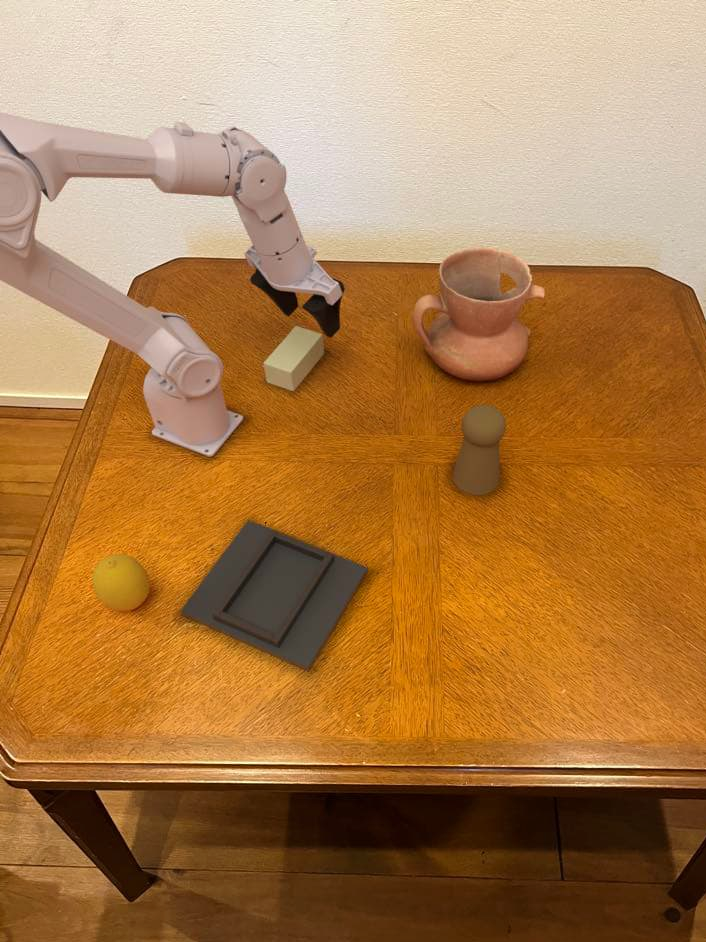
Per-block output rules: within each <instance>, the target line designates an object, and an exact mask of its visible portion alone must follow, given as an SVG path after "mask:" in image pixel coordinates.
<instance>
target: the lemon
mask: <svg viewBox="0 0 706 942" xmlns="http://www.w3.org/2000/svg"><path fill="white" fill-rule="evenodd" d="M92 572H93V573H92V587H93V590H94V593H95V595H96V598H97V599H98V600H99V601H100V602H101V603H102V604H103V606H105V607H107V608H108V609H109V610H113V611H116V612H123V613H124V612H130V611H132V610H135V609H137V608H139V607H140V606H141V605H142V604H143V603H144V602H145V601H146V600H147V598H148V595H149V593H150V586H151V585H150V578H149V574H148V573H147V571H146V569H145V568H144V567H143V565H142V564H141V563H140V561H138V560H136V559H135V558H134V557H133V556H130V555H128V554H123V553H115V554H109V555H107V556H106V557H104V558H102V559H101V560H99V562H98V563H97V564H96V566H95V568H94V569H93V571H92Z"/></svg>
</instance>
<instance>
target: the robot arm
mask: <svg viewBox="0 0 706 942" xmlns="http://www.w3.org/2000/svg"><path fill="white" fill-rule="evenodd" d="M72 178H91V179H92V178H95V179H147V180H149V179H150V180H151V181H152V183H154V184H153V185H155V187H156V188H157V189H158V190H159V191H161V193H164V194H175V195H188V196H189V195H190V196H206V197H219V198H223V197H224V198H225V197H231V199H232V201H233V204H234V205H235V207H236V209H237V212H238V215H239V218H240V221H241V223H242V225H243V226H244V229H245V231H246V233H247V235H248V237H249V240H250V241H251V244H252V245H251V246H250V247H249V248H248V249H247V250H246V251H245V252H244V253H243V255H244V258H245V259H246V262H247V264H248V266H250V267H252V268H255V272H254V273H253V274H252V275H251V277H250V279H249V281H250V283H251V285H253V286H255V287H257V288H258V289H259V290H260V291H262V292H263V293H264V294H265V295H267V296H268V298H269V299H270V300H272V302H273V303H274V304H275V306H277V308H278V309H279V310H280V311H281V312H282V313H283V314H284V315H285V316H286V317H290V316H291V315H292V314H293V313H294V312H295V311H296V310H297V309H298V308H299V301H298V296H297V294H307V295H311V296H310V297H309V299H307V300H306V302H305V303H304V304H302V306H301V308H302V309H303V310H304V311H306V312H307V313H309V314H310V315H311V316H312V317H313V319H314V320H315V321H316V322H317V324H318V325H319V328H320V330H321V331H322V333H323V334H324V335H325V336H326V337H327V338H330V339H332V338H333V336H335V334H337V332H338V331H339V330H340V329H341V319H340V317H341V316H340V312H341V303H342V298H343V296H344V292H345V290H346V288H345V285H344V283H343V282H342V281H341V280H339V279H337V278H335V277H333V278H332V277H331V276H330V275H329V274H328V273H327V272H326V271H325V270H324V268H323V267H322V266H321V265H320V263H319V262H317V260H316V259H315V257H316V256H317V254H318V252H317V249H316V247H314V246H311V245H309V244H306V241H305V239H304V236H303V233H302V231H301V228H300V226H299V223H298V220H297V217H296V215H295V213H294V210H293V208H292V205H291V202H290V200H289V197H288V195H287V194H286V191H285V187H286V184H287V183H286V182H287V168H286V165H285V164H282V163H281V161H280V159H279V158H278V156H277V154H274V152H273V151H272V150H270V149H269V148H268V147H266V146H265V145H264V144H263V143H262V142H261V141H259V140H258V139H257V138H256V137H254V135H252V134H250V133H249V132H247V131H245V130H243V129H240V128H237V127H236V126H229V127H226V128H224V129H221V131H220V132H218V133H212V132H203V131H195V130H194V129H193V128H192V127H191V126H190V125H189V124H188V123H186V122H180V121H174V123H173V127H165V126H164V127H163V126H160V127H157V128H156V129H155V130H154V131H152V133H150V135H149V136H148V137H147V138H139V137H134V136H129V135H123V134H116V133H110V132H105V131H99V130H93V129H87V128H82V127H75V126H69V125H64V124H56V123H53V122H47V121H41V120H36V119H32V118H27V117H23V116H18V115H14V114H9V113H5V112H0V281H1V282H2V283H5V284H7V285H8V286H10V287H12V288H14V289H16V290H18V291H19V292H21V293H23V294H25V295H27V296H29V297H31V298H33V299H34V300H35V301H38V302H40V303H42V304H44V305H45V306H47V307H49V308H51V309H53V310H55V311H56V312H58V313H60V314H62V315H64V316H66V317H67V318H69V319H71V320H73V321H75V322H77V323H78V324H81V326H84V327H86V328H88V329H90V330H91V331H93V332H95V333H97V334H98V335H101V336H102V337H105V338H106V339H108V340H110V341H111V342H113V343H115V344H117V345H119V346H121V347H122V348H125V349H126V350H128V351H130V352H132V353H134V354H135V355H137V356H138V357H139V358H141V359H142V360H143V361H144V362H145V363H146V364H147V365H148V366H149V367H151V368H150V369H149V370H148V372H147V373H146V375H145V377H144V381H143V388H142V392H143V393H142V394H143V397H144V400H145V403H146V406H147V408H148V411H149V415H150V417H151V419H152V423H153V425H154V428H152V431H151V434H152V436H153V437H156V438H159V439H161V440H164V441H165V442H166V441H167V442H170V443H172V444H173V445H177V446H179V447H182V448H185V449H188V450H190V451H193V452H195V453H198V454H201V455H203V456H206V457H208V458H211V457H214V455H216V453H218V451H219V450H220V448H222V446H223V445H224V444H225V442H226V441H227V440H228V439H229V437H231V436H232V434H233V433H234V432H235V431H236V429H238V427H239V426H240V425H241V424H242V422H243V421H244V416H243V415H242V414H239V413H236V412H234V411H231V410H228V408H227V404H226V399H225V397H224V392H223V389H222V383H221V380H222V378H223V374H224V364H223V362H222V360H221V358H220V356H218V355H217V353H215V352H213V351H212V350H211V348H210V347H209V346H208V345H207V344H206V343H205V342H204V340H203V339H201V337H200V336H199V335H198V333H196V331H195V330H194V329H193V327H191V323H189V322H188V320H187V319H186V318H185V317H184V316H183V315H181V314H178V313H176V312H163V311H161V310H159V309H157V308H156V307H154V306H152V305H150V306H148V307H145V306H144V305H142V304H141V303H139V302H138V301H136V300H134V299H133V298H131V297H130V296H128V295H127V294H125V293H123V292H121V291H120V290H118V289H117V288H115V287H113V285H110V284H108V283H107V282H106V281H104V280H102V279H100V278H99V277H97V276H96V275H94V274H93V273H91V272H89V271H87V270H86V269H85V268H83V267H81V266H80V265H78V264H76V263H75V262H73V261H71V260H70V259H68V258H66V257H65V256H63V255H61V254H60V253H58V252H57V251H55V250H54V249H52V248H51V247H49V246H48V245H46V244H44V243H43V242H41V241H39V240H37V238H36V235H35V230H36V226H37V221H38V218H39V213H40V209H41V204H42V203H41V202H42V194H43V195H44V196H45V197H46V198H47V199H48V201H49V202H50V203H52V202H54V201H55V200H56V199H57V198H58V196H59V194H60V193H61V192H62V190H63V188H64V187H65V185H66V184H67V182H69V180H70V179H72ZM296 293H297V294H296Z"/></svg>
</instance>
